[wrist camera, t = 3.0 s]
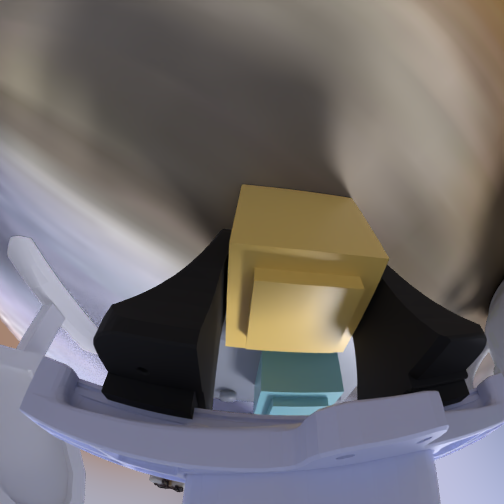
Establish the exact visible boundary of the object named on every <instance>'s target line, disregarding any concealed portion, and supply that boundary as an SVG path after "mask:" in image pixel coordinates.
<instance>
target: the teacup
mask: <svg viewBox="0 0 504 504" xmlns="http://www.w3.org/2000/svg"><path fill="white" fill-rule="evenodd" d="M484 334H485V335H486V338H487V342H486V346H485V348H484V350H483V351H482V353H481V354H480V355H479V356H478V358H477V359H476V360H475V361H474V362H473V363H472V364H471V365H470V366H469V367H468V368H467V370H466V371H467V373H468V378H467V379H465V382H466V385H467V387H468V390H471V389H474V388H473V379H474V375H475V373H476V371H477V369H478V367H479V365H480V363H481V361H482V360H483V358H484V357H485V356H486V354H487V353H488V352H490V354H491V357H492V359H493V361H494V364H495V367H494V375H495V374H498V373H502V375H503V377H504V280H503V281H502V283H501V284H500V286H499V287H498V289H497V290H496V292H495V294H494V296H493V298H492V301H491V304H490V307H489V315H488V318H487V321H486V326H485V332H484Z"/></svg>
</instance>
